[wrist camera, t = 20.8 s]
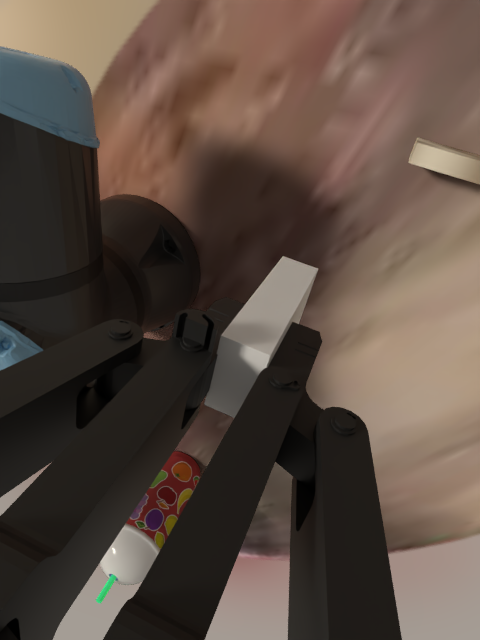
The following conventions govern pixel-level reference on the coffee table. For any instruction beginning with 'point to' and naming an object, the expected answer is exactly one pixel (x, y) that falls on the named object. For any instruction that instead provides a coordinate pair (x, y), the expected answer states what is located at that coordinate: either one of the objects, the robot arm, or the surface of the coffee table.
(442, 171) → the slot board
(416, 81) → the coffee table surface
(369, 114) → the coffee table surface
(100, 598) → the smoothie
